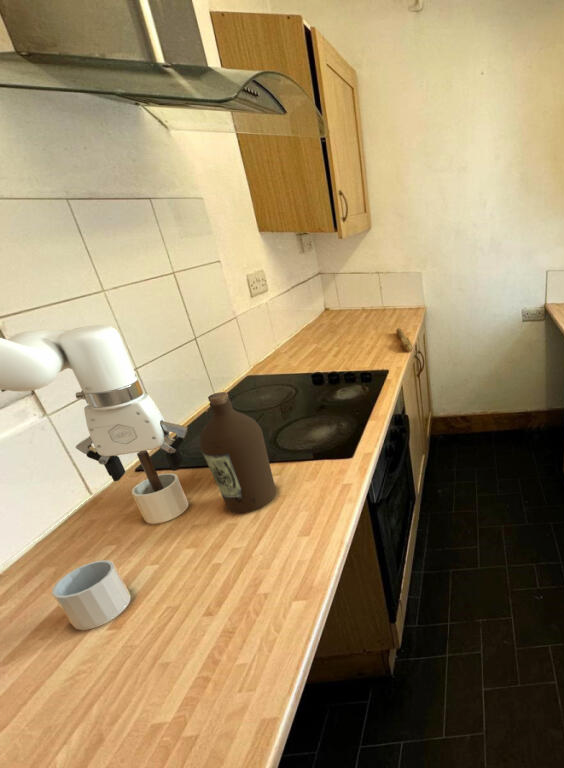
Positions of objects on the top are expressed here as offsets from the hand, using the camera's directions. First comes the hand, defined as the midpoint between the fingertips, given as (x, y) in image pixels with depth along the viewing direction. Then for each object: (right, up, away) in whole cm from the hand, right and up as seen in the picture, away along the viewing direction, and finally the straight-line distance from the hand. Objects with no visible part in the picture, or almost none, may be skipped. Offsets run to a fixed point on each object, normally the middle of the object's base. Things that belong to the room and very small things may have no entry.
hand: (149, 471), depth 83 cm
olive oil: (+16, -8, +7) cm, 19 cm away
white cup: (0, -9, +4) cm, 10 cm away
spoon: (0, -9, +4) cm, 10 cm away
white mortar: (+7, -18, -17) cm, 26 cm away
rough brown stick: (+23, +36, +106) cm, 115 cm away
